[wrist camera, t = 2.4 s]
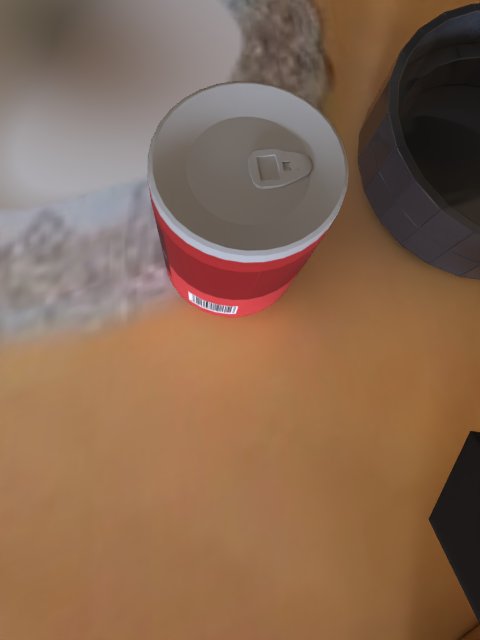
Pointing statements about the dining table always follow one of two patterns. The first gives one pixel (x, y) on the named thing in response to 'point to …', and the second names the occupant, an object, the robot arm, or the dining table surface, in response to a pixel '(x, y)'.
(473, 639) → the stuffed squirrel
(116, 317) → the dining table surface
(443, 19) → the bowl
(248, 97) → the canned food
